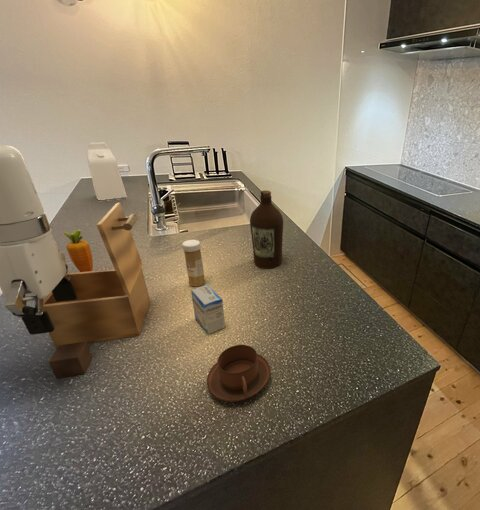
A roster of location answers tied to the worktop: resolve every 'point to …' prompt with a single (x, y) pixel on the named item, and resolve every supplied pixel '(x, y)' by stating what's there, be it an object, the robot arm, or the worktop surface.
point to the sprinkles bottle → (194, 262)
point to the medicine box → (208, 309)
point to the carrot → (79, 252)
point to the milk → (104, 172)
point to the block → (70, 360)
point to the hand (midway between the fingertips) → (55, 314)
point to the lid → (121, 245)
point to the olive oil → (267, 233)
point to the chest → (98, 309)
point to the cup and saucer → (238, 374)
